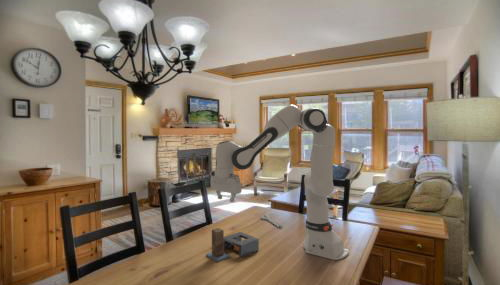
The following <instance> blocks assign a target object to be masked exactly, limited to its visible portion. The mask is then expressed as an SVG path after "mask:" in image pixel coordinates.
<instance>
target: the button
mask: <svg viewBox="0 0 500 285" xmlns="http://www.w3.org/2000/svg"><path fill="white" fill-rule="evenodd" d="M233 250H235V251H237V252H239V247H238V246H236V245H234V246H233Z"/></svg>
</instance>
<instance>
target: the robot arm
mask: <svg viewBox="0 0 500 285" xmlns="http://www.w3.org/2000/svg"><path fill="white" fill-rule="evenodd" d="M297 126H298V127H299V128H301V129H302V130H304V131H311V132H312V136H313V137H312V138H313V139H312V144H311V145H312V146H311V150H310V151H311V152H310V156H309V157H310V158H309V159H310V171H308V172H307V173H305V175H304V178H303V181H304V183H303V184H304V192H305V193H304V194H305V200H306V201H305V203H306V219H305V229H306V231H305V237H304V238H305V239H304V242H303V245H302V246H303V249H304V250H305V253H307V254H309V255H314V256H317V257H321V258H325V259H329V260H333V261H338V260H341V259H342V260H343V259H344V258H346V257H348V256H349V254H350V250H349V249H348V248H345V244H344V240H343V239H342V238H341V237H340V236H339V235H338V234H337V233H336V232H335V231H334V230H333V227H334V223H330V211H329V210H330V206H329V202H328V197H329V196H331V195H332V193H333V191H334V189H335V186H334V180H333V179H334V178H333V175H334V174H333V173H334V172H333V171H334V170H333V160H334V154H335V146H336V129H335V127H334V126H333V125H331V124H329V122H328V120H327V116H326V114H325V112H324V111H323V110H322V109H321V108H318V107H309V108H307V109H305V110H303V109H302V110H301V109H300V108H299V107H298V106H297V105H295V104H288V105H287V106H285V107H283V108H282V109H280V110H279V111H277V112H276V113H275V114H274V115H272V116H271V118H270V119H269V120H268V121H267V122H266V124H265V125H264V128H263V130H262V132H261V133H260V134H259V135H258V136H257V137H256V138H255V139H254V140H252V141H251V142H250V143H249V144H248V145H246V146H242V145H240V144H237V143H235V142H233V140H225V141H220V142H218V143H217V145H216V146H215V147H216V148H215V160H216V166H215V168H216V169H214V170H211V171H210V172H209V175H210V189H211V190H215V193H216V195H217V199H218V200H222V199H223V194H222V193H221V192H224V193H228V194H230V196H231V197H230V198H229V202H231V203H234V202H235V198H236V196H237V195H239V194H241V193H242V183H241V182H242V181H241V177H240V176H239V175H238V174H235V168H236V169H238V170H242V171H244V170H246V169H249V168H250V167H251V166H252V165H253V163H254V161H255V159H256V158H257V156H258V155H259V154H260V153H261V152H263V150H265V148H267V147H268V146H269V145H270V144H272V143H274V142H275V141H277V140H278V139H281V138H282V137H283V136H285V135H286V134H287V133H289V132H290V131H292V129H294V128H295V127H297Z"/></svg>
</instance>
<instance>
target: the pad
mask: <svg viewBox="0 0 500 285" xmlns="http://www.w3.org/2000/svg"><path fill="white" fill-rule="evenodd" d="M205 255H206V257H207V258H209V259H210V260H213V261H215V262H217V263H218V262H221V261H223V260H226V259H229V258H230V254H228V253H225V252H224V255H222V256H219V257H215V256H214V255H212V251H210V252H208V253H206V254H205Z"/></svg>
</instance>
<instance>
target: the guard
mask: <svg viewBox="0 0 500 285" xmlns="http://www.w3.org/2000/svg"><path fill="white" fill-rule="evenodd" d="M242 239H243V240H242ZM259 240H260V239H259V238H257V237H255V236H253V235H249V234H248V233H247V234H246V233H245V232H241V231H238V232H235V233H232V234H230V235H226V236H224V250H228V249H231V248H234V245H236V246H238V247H239V251H238V252H239V253H238V255H239V258H241V259H242V258H245V257H247V256H249V255H251V254H254V253H255V252H259V249H260V247H259V244H260V243H259Z"/></svg>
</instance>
